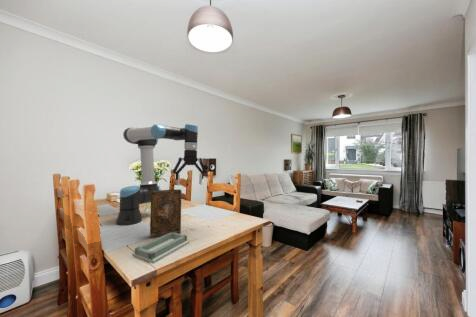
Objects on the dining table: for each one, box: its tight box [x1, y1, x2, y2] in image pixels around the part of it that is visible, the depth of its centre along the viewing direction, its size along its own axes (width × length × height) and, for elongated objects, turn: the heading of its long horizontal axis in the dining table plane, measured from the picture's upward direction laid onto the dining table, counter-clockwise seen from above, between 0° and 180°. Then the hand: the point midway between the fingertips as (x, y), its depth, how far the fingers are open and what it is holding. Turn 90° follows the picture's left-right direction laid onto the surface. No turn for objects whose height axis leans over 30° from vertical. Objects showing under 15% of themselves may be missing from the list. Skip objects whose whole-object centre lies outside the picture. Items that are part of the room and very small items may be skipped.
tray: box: [131, 232, 190, 264], centre depth 95 cm, size 14×22×3 cm, turn 153°
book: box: [149, 188, 182, 239], centre depth 112 cm, size 16×6×25 cm, turn 114°
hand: (189, 184), depth 119 cm, fingers open, 13 cm apart
